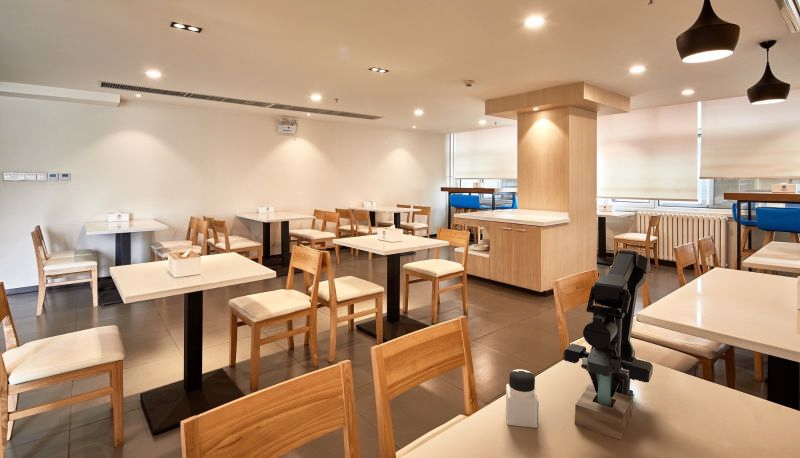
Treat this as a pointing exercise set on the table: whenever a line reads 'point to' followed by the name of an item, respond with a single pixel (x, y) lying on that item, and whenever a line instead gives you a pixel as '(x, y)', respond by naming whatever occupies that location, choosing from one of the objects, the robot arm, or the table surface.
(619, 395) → the socket block
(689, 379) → the table surface
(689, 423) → the table surface
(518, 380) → the medicine bottle
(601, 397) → the peg
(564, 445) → the table surface
